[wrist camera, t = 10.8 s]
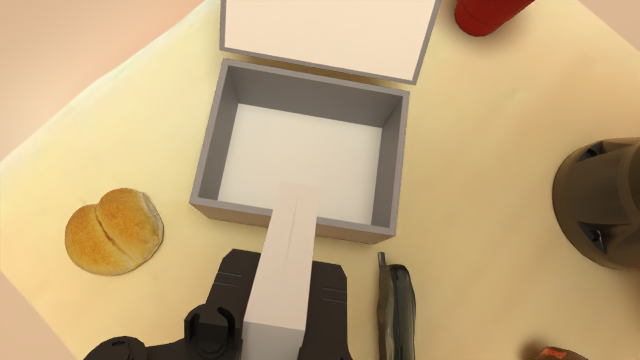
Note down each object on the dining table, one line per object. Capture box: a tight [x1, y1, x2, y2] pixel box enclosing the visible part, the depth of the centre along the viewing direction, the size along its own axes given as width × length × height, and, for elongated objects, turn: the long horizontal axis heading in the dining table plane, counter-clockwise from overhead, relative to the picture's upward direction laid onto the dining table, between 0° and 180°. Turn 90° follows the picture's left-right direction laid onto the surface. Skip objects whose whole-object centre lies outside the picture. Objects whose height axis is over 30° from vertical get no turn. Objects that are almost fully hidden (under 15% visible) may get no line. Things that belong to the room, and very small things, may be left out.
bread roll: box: [65, 188, 163, 276], centre depth 39 cm, size 8×9×4 cm
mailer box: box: [189, 58, 410, 244], centre depth 40 cm, size 18×14×9 cm
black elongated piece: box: [378, 252, 416, 360], centre depth 39 cm, size 5×3×15 cm
